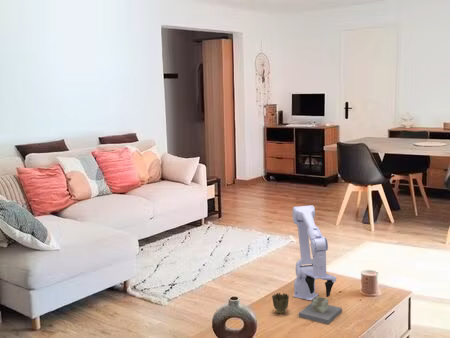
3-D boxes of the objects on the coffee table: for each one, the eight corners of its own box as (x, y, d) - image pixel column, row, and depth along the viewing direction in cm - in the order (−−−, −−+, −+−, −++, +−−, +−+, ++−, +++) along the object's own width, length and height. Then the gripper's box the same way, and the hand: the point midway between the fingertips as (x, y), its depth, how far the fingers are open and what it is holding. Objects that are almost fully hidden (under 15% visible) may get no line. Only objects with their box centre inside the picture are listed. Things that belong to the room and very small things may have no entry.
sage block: (312, 311, 229) (312, 300, 229) (317, 306, 233) (317, 296, 233) (323, 313, 226) (323, 302, 226) (328, 309, 230) (327, 298, 230)
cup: (290, 310, 236) (290, 293, 235) (287, 317, 229) (286, 299, 228) (274, 308, 239) (274, 292, 237) (271, 315, 232) (270, 298, 230)
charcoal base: (298, 317, 229) (298, 312, 228) (313, 305, 240) (313, 301, 239) (328, 324, 220) (328, 319, 220) (341, 312, 232) (341, 307, 231)
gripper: (300, 265, 228) (301, 294, 230) (331, 270, 219) (331, 301, 221) (307, 260, 233) (308, 289, 235) (337, 265, 225) (338, 295, 227)
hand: (320, 294), depth 229 cm, fingers open, 7 cm apart
